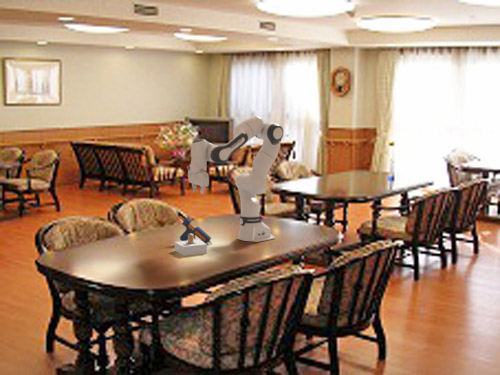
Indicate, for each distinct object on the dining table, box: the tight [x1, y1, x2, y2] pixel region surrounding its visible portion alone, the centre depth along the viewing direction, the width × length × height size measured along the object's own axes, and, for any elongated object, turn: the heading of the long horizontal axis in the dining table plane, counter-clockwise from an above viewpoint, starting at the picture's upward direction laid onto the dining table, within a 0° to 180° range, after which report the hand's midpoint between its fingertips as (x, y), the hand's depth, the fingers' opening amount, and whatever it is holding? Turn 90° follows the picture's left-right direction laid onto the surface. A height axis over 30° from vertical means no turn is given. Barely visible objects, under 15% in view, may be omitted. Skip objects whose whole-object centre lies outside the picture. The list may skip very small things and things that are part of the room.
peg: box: [187, 234, 194, 244], centre depth 365 cm, size 3×3×10 cm
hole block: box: [174, 239, 208, 257], centre depth 365 cm, size 14×12×5 cm
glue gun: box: [179, 215, 213, 245], centre depth 387 cm, size 5×25×12 cm
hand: (198, 192), depth 374 cm, fingers open, 8 cm apart
